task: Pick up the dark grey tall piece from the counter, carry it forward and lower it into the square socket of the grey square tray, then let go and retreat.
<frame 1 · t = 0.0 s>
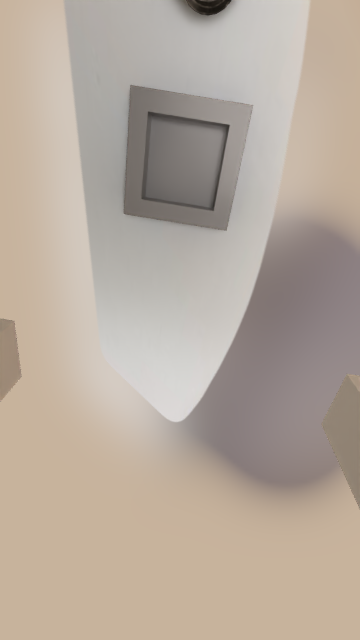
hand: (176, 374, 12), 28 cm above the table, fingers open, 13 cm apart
grey square tray: (184, 164, 34), on the table
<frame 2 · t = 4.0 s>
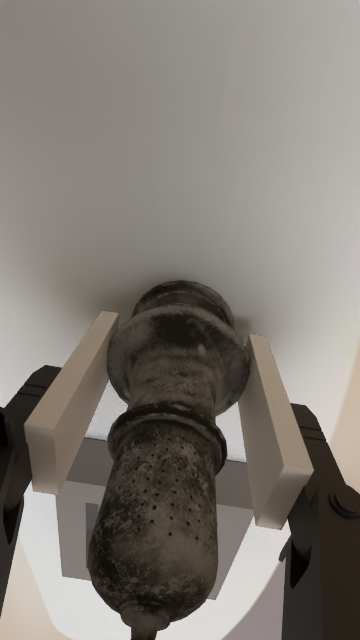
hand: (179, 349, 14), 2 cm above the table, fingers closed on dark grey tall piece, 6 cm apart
grey square tray: (152, 502, 22), on the table
dark grey tall piece: (182, 327, 16), on the table, touching gripper
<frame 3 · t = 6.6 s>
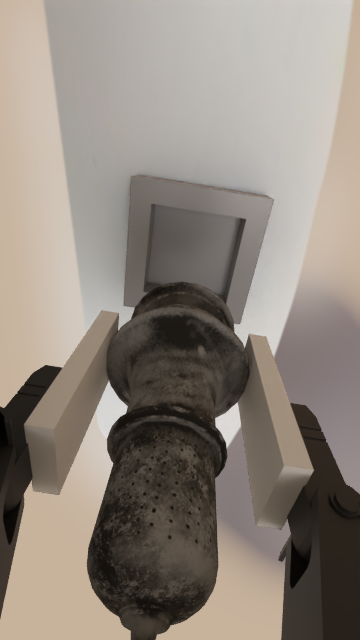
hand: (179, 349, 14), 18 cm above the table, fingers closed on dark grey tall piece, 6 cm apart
grey square tray: (192, 249, 30), on the table
dark grey tall piece: (182, 328, 16), point 16 cm above the table, touching gripper
when the fingers open (4 cm above the table, at t = 9.6 s): dark grey tall piece drops 2 cm, resting on grey square tray.
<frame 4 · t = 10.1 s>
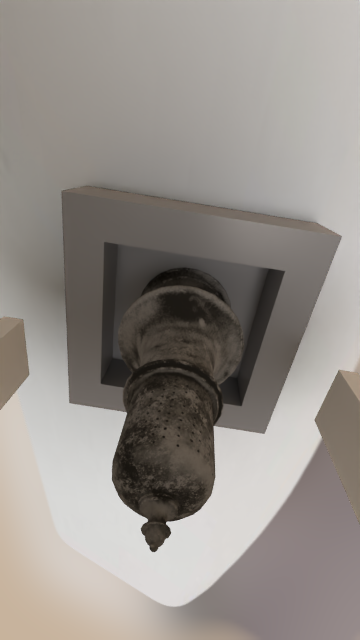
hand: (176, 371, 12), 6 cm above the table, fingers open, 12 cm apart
grey square tray: (184, 308, 18), on the table
dark grey tall piece: (184, 310, 17), resting on grey square tray
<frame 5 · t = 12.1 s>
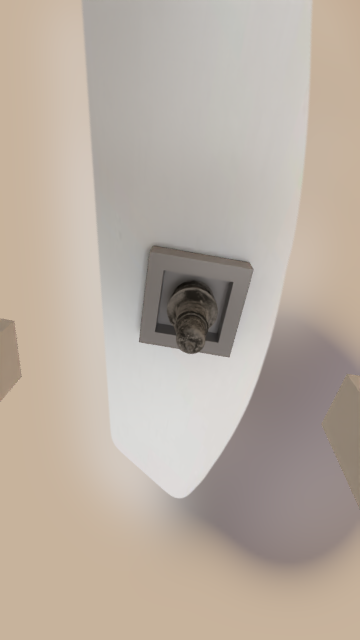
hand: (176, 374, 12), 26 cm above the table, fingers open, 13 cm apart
grey square tray: (192, 298, 38), on the table
dark grey tall piece: (192, 299, 38), resting on grey square tray
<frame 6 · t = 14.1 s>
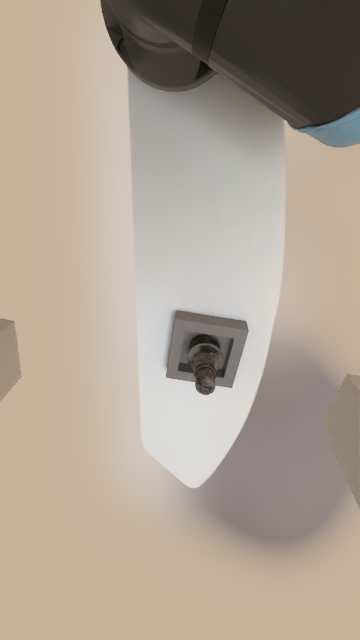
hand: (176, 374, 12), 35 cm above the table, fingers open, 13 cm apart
grey square tray: (204, 345, 52), on the table
dark grey tall piece: (204, 346, 52), resting on grey square tray
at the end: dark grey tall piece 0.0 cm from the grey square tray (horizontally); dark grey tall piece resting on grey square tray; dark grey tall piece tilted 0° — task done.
